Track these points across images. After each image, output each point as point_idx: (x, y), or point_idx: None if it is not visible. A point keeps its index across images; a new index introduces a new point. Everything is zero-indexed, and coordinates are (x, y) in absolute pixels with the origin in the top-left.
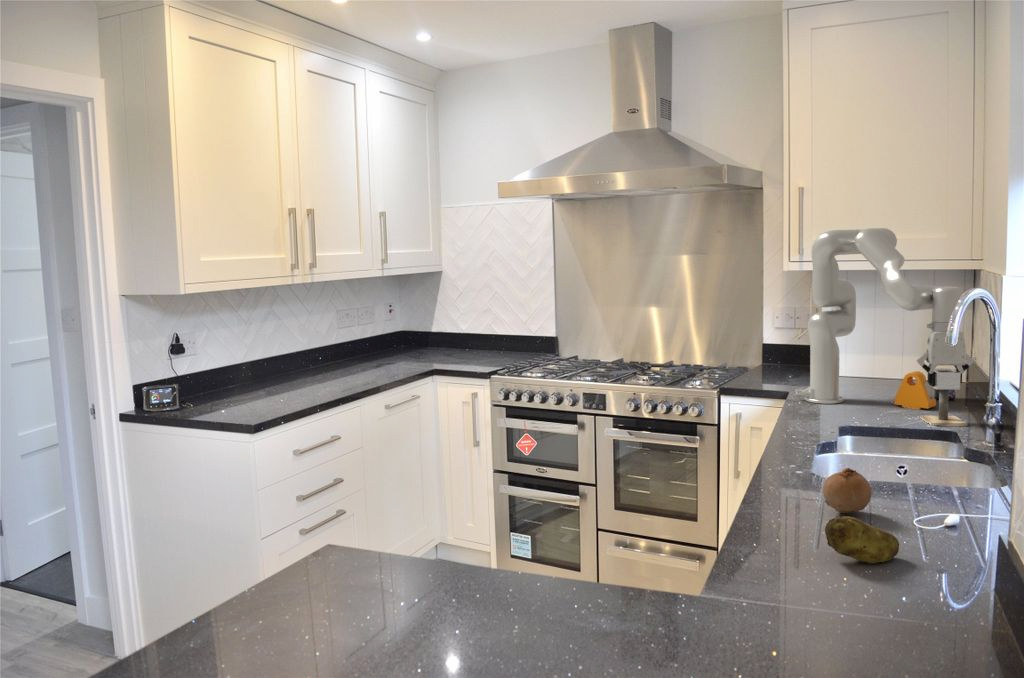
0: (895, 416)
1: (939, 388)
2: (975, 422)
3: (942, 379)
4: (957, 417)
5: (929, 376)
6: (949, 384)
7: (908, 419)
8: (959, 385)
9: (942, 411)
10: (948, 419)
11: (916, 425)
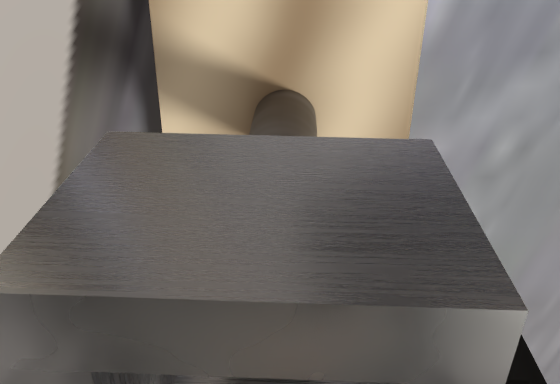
0: (515, 278)
1: (394, 146)
2: (68, 114)
3: (372, 216)
4: None
5: (538, 370)
6: (248, 166)
7: (477, 201)
8: (97, 157)
9: (300, 118)
10: (249, 111)
11: (521, 12)
